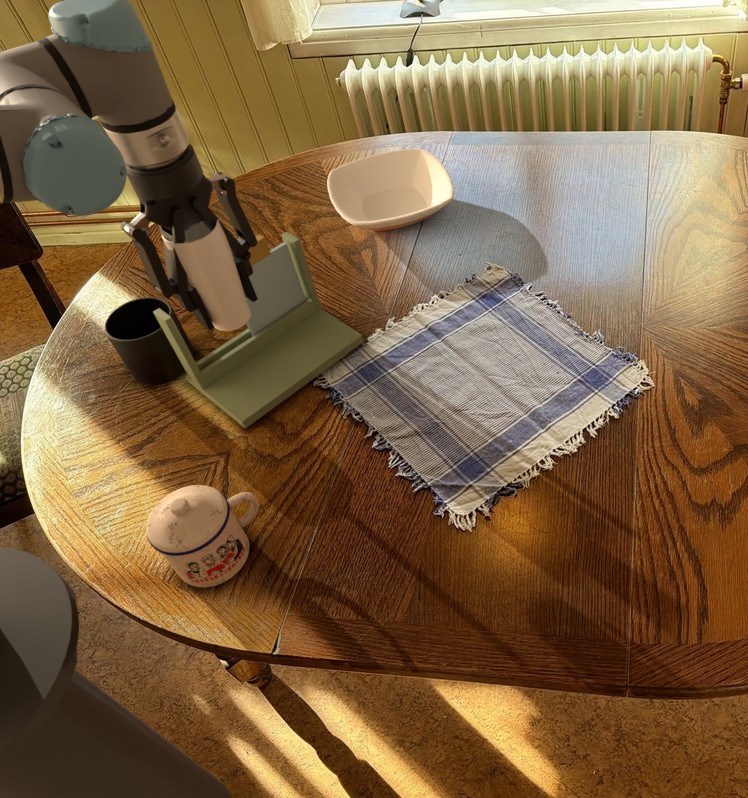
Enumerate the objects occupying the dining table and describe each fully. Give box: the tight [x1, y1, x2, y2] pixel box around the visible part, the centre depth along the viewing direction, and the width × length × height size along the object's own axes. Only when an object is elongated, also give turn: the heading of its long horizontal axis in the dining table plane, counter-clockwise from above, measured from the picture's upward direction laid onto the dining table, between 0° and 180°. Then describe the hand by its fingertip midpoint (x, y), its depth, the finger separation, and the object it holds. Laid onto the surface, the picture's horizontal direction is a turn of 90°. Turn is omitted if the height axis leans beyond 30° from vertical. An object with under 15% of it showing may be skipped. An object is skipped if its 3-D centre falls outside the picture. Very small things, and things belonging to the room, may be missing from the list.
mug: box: [103, 296, 196, 385], centre depth 110 cm, size 9×12×9 cm
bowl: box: [326, 148, 455, 232], centre depth 136 cm, size 22×22×5 cm
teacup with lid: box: [145, 484, 260, 588], centre depth 87 cm, size 12×9×12 cm
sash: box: [246, 234, 306, 337], centre depth 109 cm, size 10×1×16 cm, turn 140°
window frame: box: [153, 231, 364, 429], centre depth 107 cm, size 22×14×15 cm, turn 140°
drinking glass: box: [160, 219, 251, 332], centre depth 94 cm, size 7×7×15 cm
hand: (228, 310), depth 98 cm, fingers closed on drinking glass, 6 cm apart
